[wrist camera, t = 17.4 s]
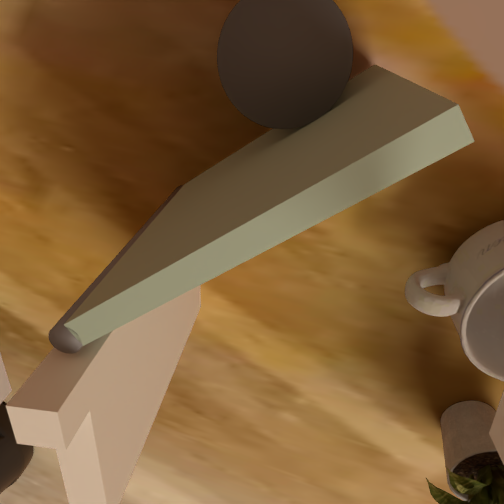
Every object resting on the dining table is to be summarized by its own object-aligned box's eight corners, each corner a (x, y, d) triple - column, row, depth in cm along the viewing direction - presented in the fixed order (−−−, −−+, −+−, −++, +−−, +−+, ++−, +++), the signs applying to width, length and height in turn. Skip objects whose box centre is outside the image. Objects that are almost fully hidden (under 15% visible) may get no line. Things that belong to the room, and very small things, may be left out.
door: (171, 190, 34) (41, 334, 18) (374, 62, 29) (456, 100, 12) (182, 205, 35) (64, 358, 18) (383, 82, 29) (476, 144, 13)
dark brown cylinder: (235, 100, 31) (212, 119, 24) (245, -12, 28) (222, -28, 21) (332, 113, 31) (337, 137, 24) (353, 1, 28) (367, -11, 21)
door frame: (179, 304, 40) (52, 561, 20) (159, -109, 27) (-267, -509, 7) (200, 306, 40) (92, 568, 20) (192, -109, 26) (-155, -520, 7)
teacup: (611, 225, 32) (695, 280, 25) (530, 337, 37) (581, 409, 30) (430, 172, 32) (463, 211, 25) (373, 291, 37) (388, 352, 30)
